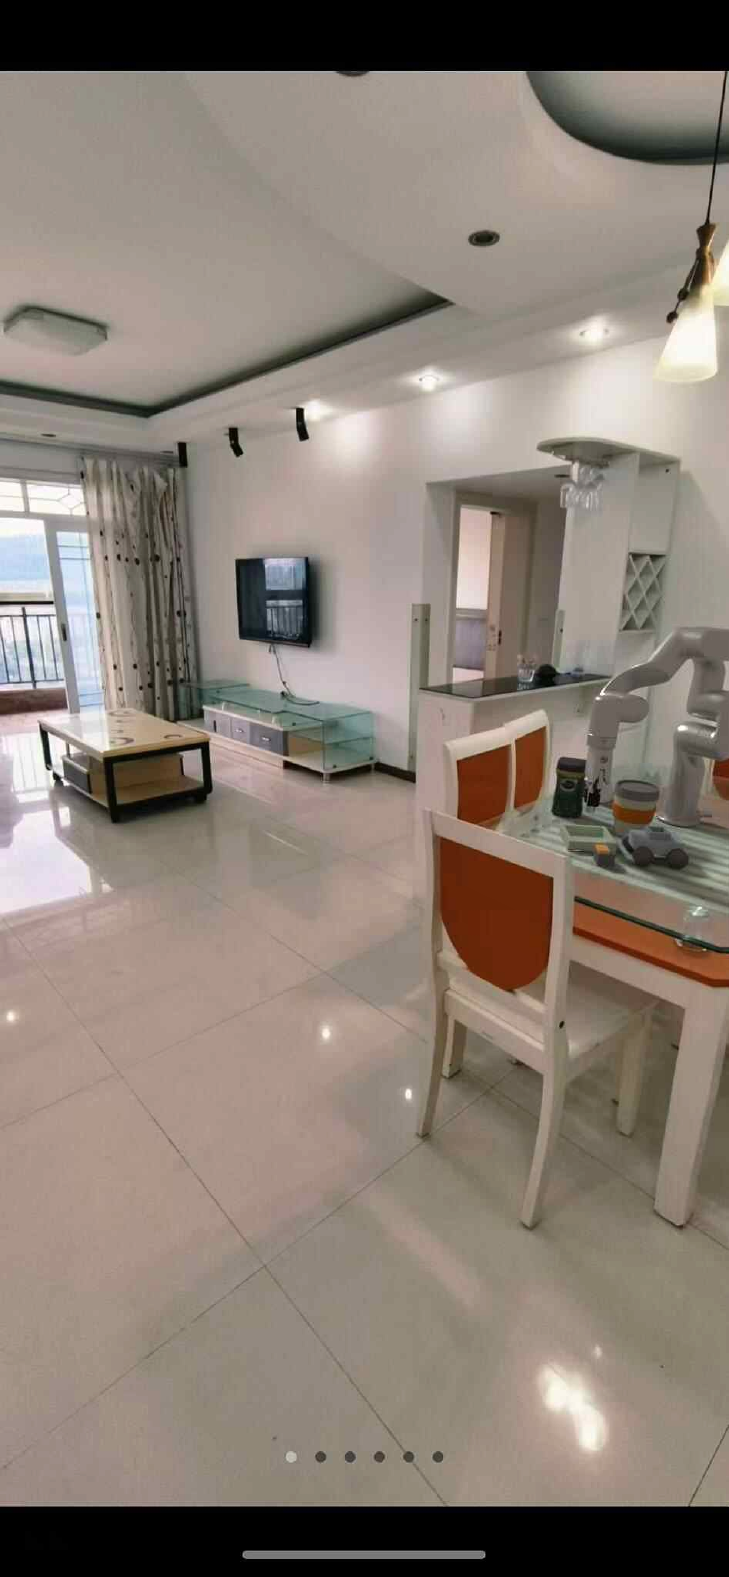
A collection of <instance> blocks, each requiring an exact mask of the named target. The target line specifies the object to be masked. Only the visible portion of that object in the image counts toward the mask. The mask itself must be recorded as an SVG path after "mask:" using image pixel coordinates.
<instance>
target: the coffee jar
mask: <svg viewBox="0 0 729 1577" xmlns="http://www.w3.org/2000/svg"><path fill="white" fill-rule="evenodd" d="M585 764H586V759H583V758H576V757H569V756H560V757H559V758H558V760H557V763H556V768H555V774H556V780H555V781H556V783H555V788H554V793H553V796H552V801H551V806H550V807H551V808H550V812H551V813H552V814H554V815H556V816H560V817H566V818H578V817H581V816H582V813H583V809H584V805H583V802H584V799H583V786H584V779H585V778H587V777H586V775H585Z"/></svg>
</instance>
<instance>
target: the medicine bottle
mask: <svg viewBox="0 0 729 1577" xmlns="http://www.w3.org/2000/svg"><path fill="white" fill-rule="evenodd" d="M587 779H588V778H587V777H585V779H584V786H583V798H585V792H586V789H588V788H586V785H587ZM613 785H614V782H613V781H611V780H610V783H609V784H608V785H607V784H605V783H604V781H603V789H602V791H601V797H600V803H599V804H602V803H608V802H609V803H610V801H611V797H612V791H613Z"/></svg>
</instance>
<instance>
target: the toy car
mask: <svg viewBox="0 0 729 1577" xmlns="http://www.w3.org/2000/svg"><path fill="white" fill-rule="evenodd" d="M621 844H622V846H623V847H624V848H625V850H626V851H627V852H628V851H629V852H632V860H633V861H634V862H635V864H636V865H637V866H639V867H642V868H643V867H648V866H650V865H652V864H653V862H654V860H655V855H666V861H667V862H668V864H669V865H670V866H671V867H672V868H674V869H676V870H680V869H684V868H686V866H688V865H689V862H690V857H689V854H688V853H686V851H685V846H686V845H685V844H686V843H685V842H684V841H683V839H681V838H680V836H679V835H677V834H676V832H675V831H669V830H668V829H667V828H666V827H665V826H661V825H659V826H658V825H649V826H647V825H645V829H644V830H630V831H629V832H628V833H626V834H625V835H624V836H623V837H621Z"/></svg>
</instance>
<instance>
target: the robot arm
mask: <svg viewBox="0 0 729 1577" xmlns="http://www.w3.org/2000/svg"><path fill="white" fill-rule="evenodd" d="M688 660H691V661H692V666H693V672H692V673H693V674H692V678H691V679H692V680H691V683H690V687H689V691H688V694H687V695H688V697H687V701H686V707H685V709H686V712H687V714H688V715H689V716H691V717H693V718H697V719H700V720H706V721H709V722H713V723H716V726H715V725H710V724H706V723H701V722H697V721H684V722H682V723H679V724H678V725H677V726H676V728H675V729H674V732H673V736H672V760H671V766H670V772H669V777H668V782H667V788H666V793H665V798H664V802H663V803H664V804H663V809H662V810H658V811H657V812H656V818H657V819H658V820H659V821H661V822H662V823H665V824H668V825H672V826H676V827H683V828H684V827H685V828H693V827H698V826H699V825H700V824H701V819H703V818H705V819H706V818H709V819H712V818H713V816H714V815H713V811H706V810H705V809H699V808H698V806H699V801H700V796H701V793H702V787H703V782H704V777H705V773H706V765H705V761H704V758H706V759H710V760H713V761H719V762H721V761H722V762H723V761H726V760H728V759H729V690H727V689H724V683H725V678H726V673H727V672H726V671H727V670H726V665H725V662H729V628H721V627H715V626H713V627H712V626H679V627H678V626H677V627H676V628H674V629H673V628H672V630H671V631H669V633H668V634H667V635H666V636H665V637H664V638H663V639H662V641H661V642H660V643H659V644H658V646H656V648H655V649H654V650H653V651H652V652H651V654H649V656H648V657H647V658H646V659H645V660H644V661H642V662H640V663H638V664H635V665H634V666H631V667H630V668H628V669H626V670H624V671H622V672H620V673H618V674H617V675H615V676H614V677H613V678H611V680H609V682H608V683H607V684H606V685H605V686H604V687H603V689H602V690H601V692H600V693H599V694H598V695H596V696H595V697H594V698H593V701H592V705H591V706H592V707H591V713H590V718H589V726H588V732H587V739H586V744H585V745H586V746H587V747H588V749H587V754H586V758H585V760H586V764H585V775H586V777H585V778H588V779H589V780H590V782H591V789H590V792H589V794H588V789H589V784H588V779H587V785H586V788H588V789H586V792H585V798H584V799H583V802H584V803H585V804H586V802H587V806H588V807H596V808H598V807H599V806H600V804H601V803H600V797H601V791H602V789H603V781H604V783H605V784H607V785H608V784H609V783H610V781H611V777H612V771H613V770H612V769H613V768H612V767H613V759H614V758H613V756H614V749H616V744H617V739H618V734H619V729H620V728H619V727H620V723H626V724H638V723H641V721H643V720H645V719H646V717H647V716H648V714H649V711H650V706H649V703H648V701H647V700H646V699H645V698H644V697H641V696H640V695H635V694H630V692H632V691H635V690H637V689H642V688H647V687H652V686H657V685H661V684H665V683H667V682H669V681H670V680H671V679H672V678H673V677H674V675H675V674H676V673H677V672H678V671H679V670H680V668H682V666H683V665H684V664H685V663H686V662H687V661H688ZM595 781H598V782H595ZM594 785H597V786H595V787H594ZM587 796H588V800H587Z"/></svg>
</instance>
